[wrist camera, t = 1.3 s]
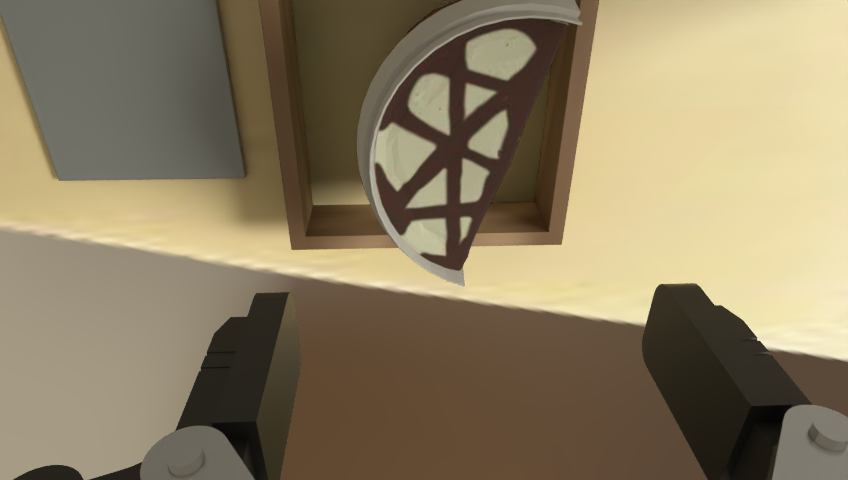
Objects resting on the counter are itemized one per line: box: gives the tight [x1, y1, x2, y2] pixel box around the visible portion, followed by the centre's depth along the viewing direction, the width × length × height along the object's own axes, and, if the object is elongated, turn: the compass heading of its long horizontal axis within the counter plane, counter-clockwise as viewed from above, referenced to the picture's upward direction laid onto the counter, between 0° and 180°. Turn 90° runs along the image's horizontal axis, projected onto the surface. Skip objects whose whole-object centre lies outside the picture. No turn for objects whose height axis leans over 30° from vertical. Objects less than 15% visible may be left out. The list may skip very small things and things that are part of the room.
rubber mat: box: [0, 0, 246, 181], centre depth 28 cm, size 10×13×1 cm
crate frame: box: [259, 0, 599, 250], centre depth 28 cm, size 15×17×4 cm
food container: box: [357, 0, 583, 286], centre depth 26 cm, size 12×6×10 cm, turn 161°
